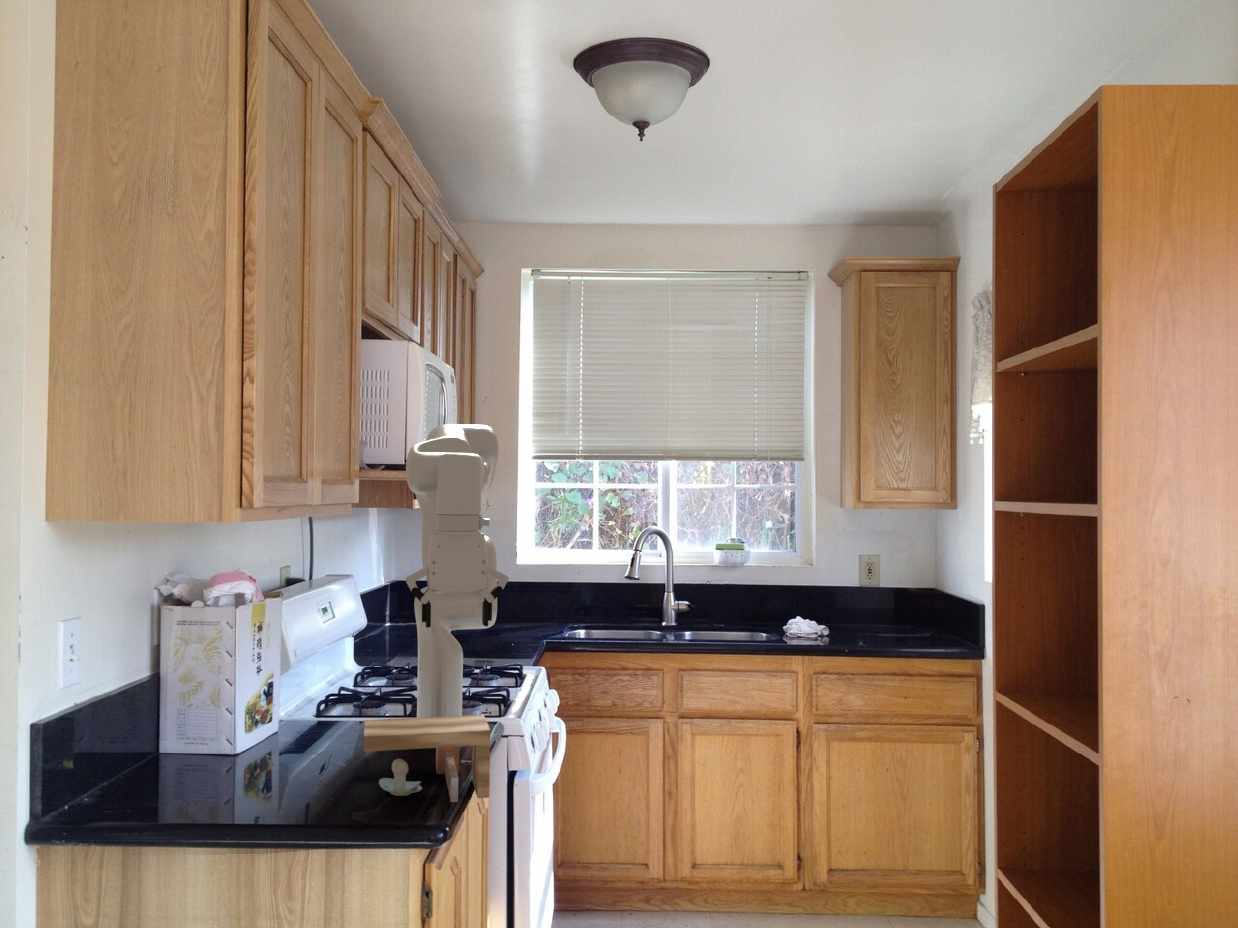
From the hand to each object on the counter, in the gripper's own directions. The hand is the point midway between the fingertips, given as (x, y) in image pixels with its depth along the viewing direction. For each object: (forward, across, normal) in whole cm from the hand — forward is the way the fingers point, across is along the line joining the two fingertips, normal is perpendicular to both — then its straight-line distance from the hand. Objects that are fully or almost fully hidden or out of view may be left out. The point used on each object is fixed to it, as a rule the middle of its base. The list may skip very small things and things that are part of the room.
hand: (456, 625), depth 162 cm
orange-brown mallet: (+30, 0, -9) cm, 31 cm away
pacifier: (+30, +8, -6) cm, 32 cm away
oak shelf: (+30, +4, -6) cm, 30 cm away
